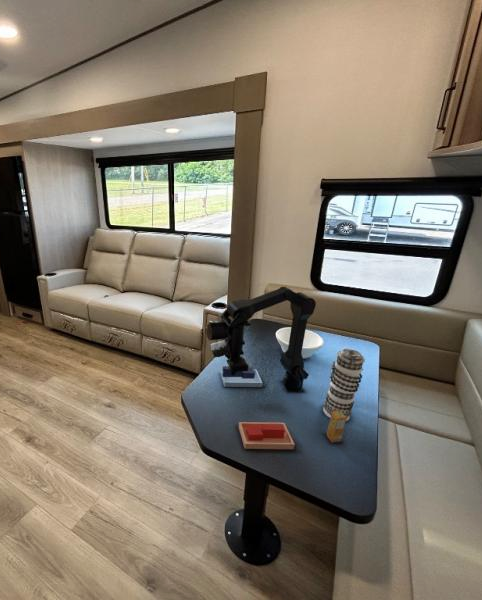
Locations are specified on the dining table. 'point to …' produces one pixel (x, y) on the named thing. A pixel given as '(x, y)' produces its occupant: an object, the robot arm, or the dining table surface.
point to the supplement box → (336, 426)
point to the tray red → (267, 442)
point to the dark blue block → (239, 373)
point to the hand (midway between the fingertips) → (232, 373)
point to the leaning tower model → (344, 382)
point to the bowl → (309, 344)
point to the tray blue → (242, 381)
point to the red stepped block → (264, 432)
